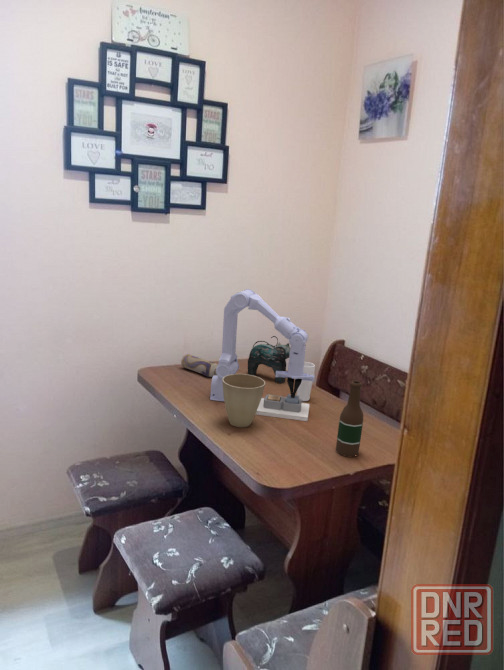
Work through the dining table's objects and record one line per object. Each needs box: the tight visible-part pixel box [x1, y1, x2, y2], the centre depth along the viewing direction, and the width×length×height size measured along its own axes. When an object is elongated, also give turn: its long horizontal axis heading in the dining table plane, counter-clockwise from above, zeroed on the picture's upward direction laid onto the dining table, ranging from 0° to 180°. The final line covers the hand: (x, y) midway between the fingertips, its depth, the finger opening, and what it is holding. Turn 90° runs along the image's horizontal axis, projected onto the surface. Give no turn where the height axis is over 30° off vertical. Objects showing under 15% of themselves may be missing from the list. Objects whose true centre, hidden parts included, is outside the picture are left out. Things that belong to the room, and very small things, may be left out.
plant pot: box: [222, 373, 266, 428], centre depth 188 cm, size 15×15×16 cm
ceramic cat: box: [247, 335, 291, 384], centre depth 237 cm, size 20×6×20 cm, turn 58°
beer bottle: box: [335, 380, 364, 457], centre depth 171 cm, size 8×8×24 cm
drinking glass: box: [296, 361, 316, 402], centre depth 216 cm, size 7×7×15 cm
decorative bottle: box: [180, 353, 218, 378], centre depth 238 cm, size 26×8×7 cm, turn 52°
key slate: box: [286, 393, 299, 404], centre depth 203 cm, size 4×4×2 cm
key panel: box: [255, 394, 310, 422], centre depth 204 cm, size 20×14×4 cm
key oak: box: [268, 394, 281, 402], centre depth 204 cm, size 4×4×2 cm
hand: (292, 397), depth 202 cm, fingers closed, pressing on key slate
